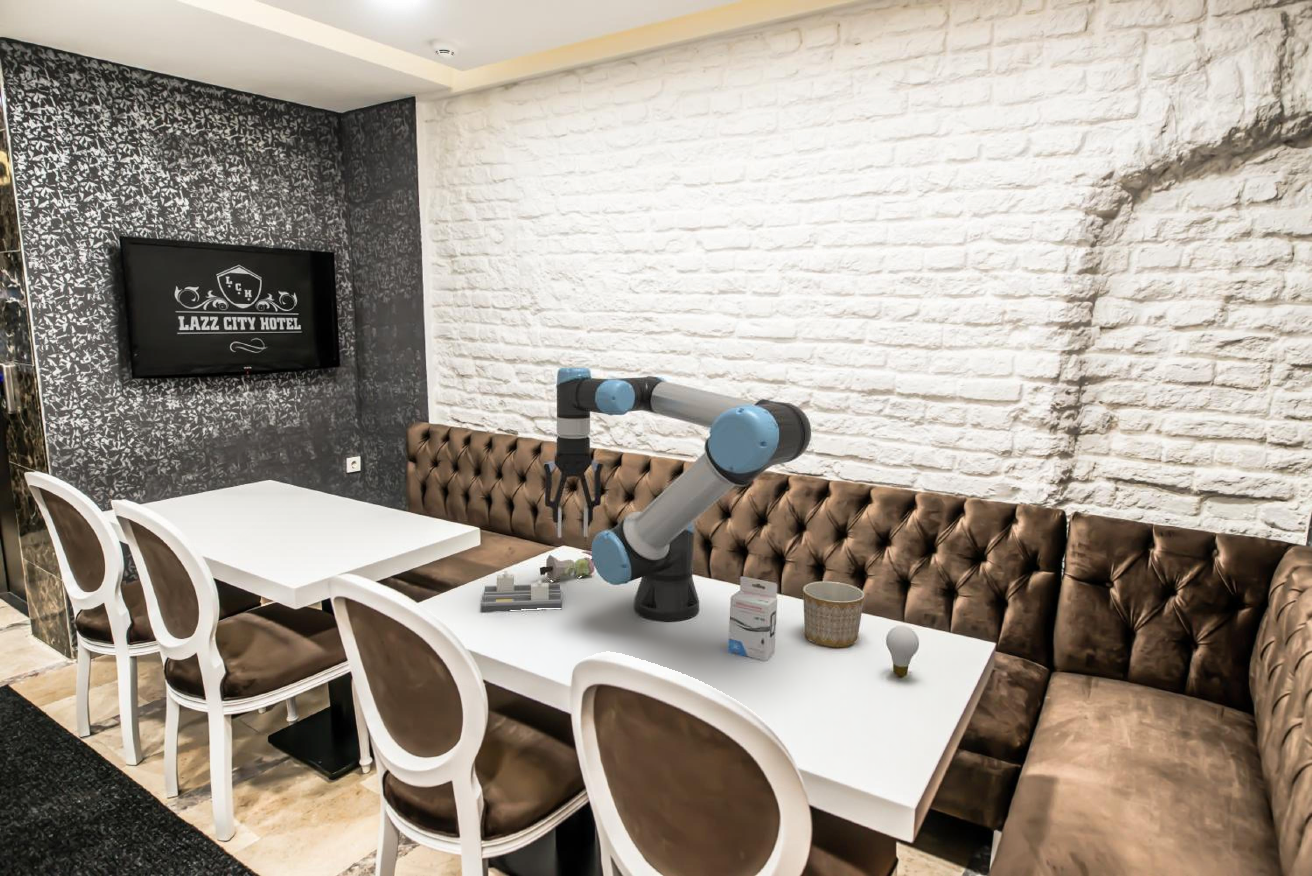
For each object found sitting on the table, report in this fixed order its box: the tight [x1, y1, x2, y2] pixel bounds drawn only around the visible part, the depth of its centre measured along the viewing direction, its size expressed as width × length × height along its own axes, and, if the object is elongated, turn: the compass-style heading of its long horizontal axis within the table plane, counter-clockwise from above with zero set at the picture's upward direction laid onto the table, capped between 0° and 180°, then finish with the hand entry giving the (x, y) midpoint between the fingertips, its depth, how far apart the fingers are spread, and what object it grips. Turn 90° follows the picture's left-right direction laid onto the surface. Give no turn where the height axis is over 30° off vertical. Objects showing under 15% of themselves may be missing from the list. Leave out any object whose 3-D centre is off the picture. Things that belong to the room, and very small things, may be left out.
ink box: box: [727, 575, 778, 662], centre depth 151 cm, size 8×5×15 cm, turn 60°
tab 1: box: [496, 570, 515, 592], centre depth 179 cm, size 4×2×4 cm, turn 99°
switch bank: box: [481, 582, 563, 613], centre depth 177 cm, size 18×12×2 cm, turn 99°
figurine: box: [539, 550, 595, 582], centre depth 194 cm, size 9×7×15 cm
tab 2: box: [530, 579, 549, 601], centre depth 174 cm, size 4×2×4 cm, turn 99°
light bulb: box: [885, 625, 920, 679], centre depth 142 cm, size 6×6×10 cm
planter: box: [802, 580, 865, 648], centre depth 159 cm, size 13×13×10 cm
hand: (572, 535), depth 173 cm, fingers open, 5 cm apart
